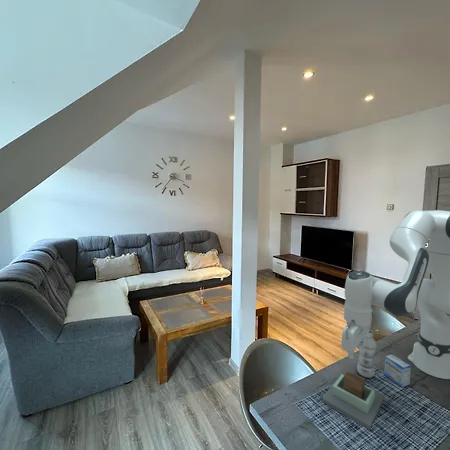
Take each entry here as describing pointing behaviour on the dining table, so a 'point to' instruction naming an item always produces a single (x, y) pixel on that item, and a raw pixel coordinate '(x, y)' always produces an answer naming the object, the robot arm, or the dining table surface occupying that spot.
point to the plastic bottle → (367, 356)
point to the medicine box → (397, 370)
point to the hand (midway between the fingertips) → (355, 351)
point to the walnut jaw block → (354, 384)
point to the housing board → (354, 403)
